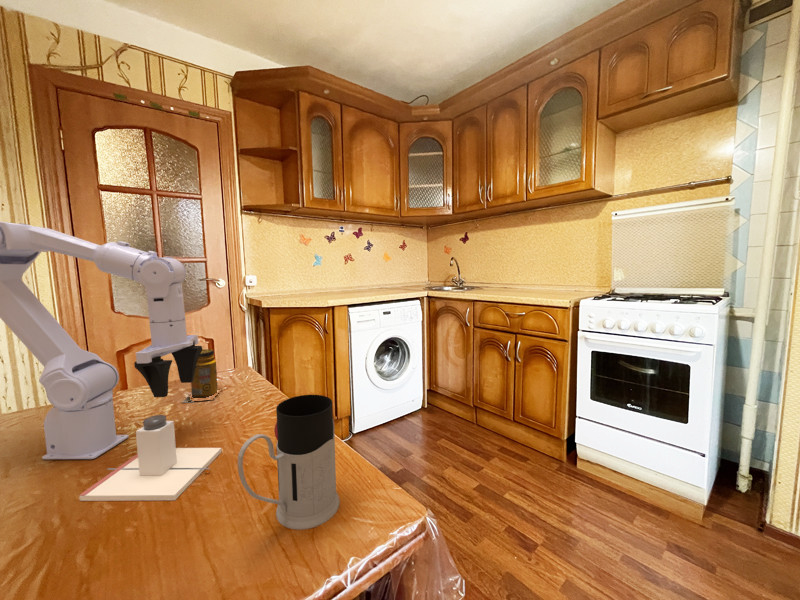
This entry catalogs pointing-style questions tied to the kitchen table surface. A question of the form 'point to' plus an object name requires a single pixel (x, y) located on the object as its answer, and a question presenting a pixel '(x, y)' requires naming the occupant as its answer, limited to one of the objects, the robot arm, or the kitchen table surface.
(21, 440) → the kitchen table surface
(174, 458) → the white bottle
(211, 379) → the condiment
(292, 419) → the glass holder
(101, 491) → the notepad
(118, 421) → the kitchen table surface
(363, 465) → the kitchen table surface
